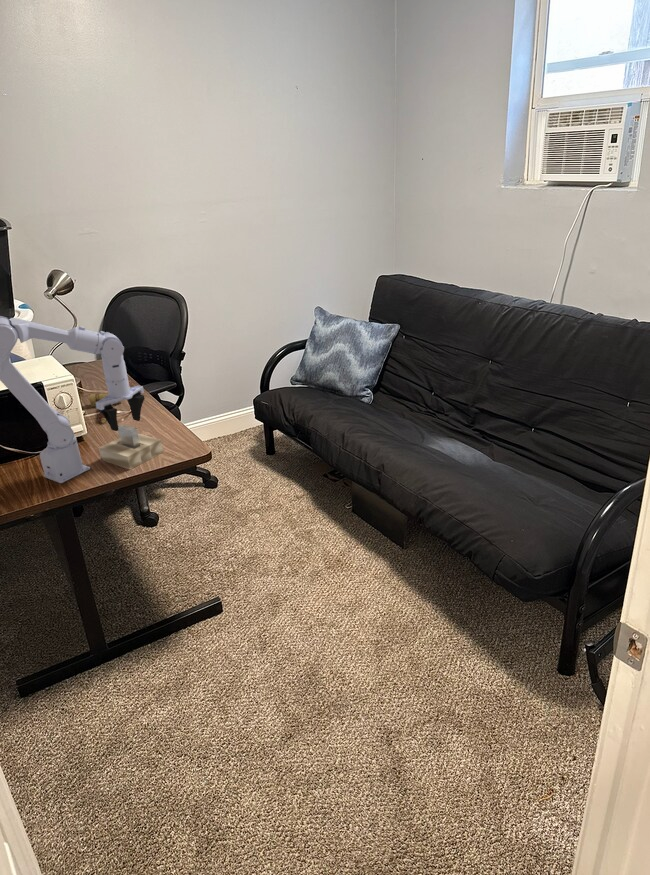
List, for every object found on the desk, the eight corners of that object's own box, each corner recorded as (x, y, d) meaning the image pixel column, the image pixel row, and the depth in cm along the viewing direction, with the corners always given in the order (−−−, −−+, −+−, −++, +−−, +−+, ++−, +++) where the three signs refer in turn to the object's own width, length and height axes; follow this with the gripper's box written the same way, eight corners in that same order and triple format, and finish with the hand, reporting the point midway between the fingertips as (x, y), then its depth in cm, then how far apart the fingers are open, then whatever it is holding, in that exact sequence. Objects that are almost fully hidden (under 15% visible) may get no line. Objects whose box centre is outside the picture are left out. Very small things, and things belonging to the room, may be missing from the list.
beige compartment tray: (130, 469, 166) (127, 456, 164) (101, 460, 172) (98, 447, 170) (163, 452, 175) (160, 439, 173) (135, 443, 181) (132, 431, 179)
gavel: (117, 413, 196) (85, 418, 193) (120, 426, 198) (88, 431, 196) (119, 388, 213) (89, 392, 211) (122, 400, 216) (92, 404, 213)
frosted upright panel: (137, 460, 171) (131, 430, 167) (123, 455, 174) (116, 426, 170) (142, 457, 172) (136, 428, 169) (128, 452, 176) (122, 424, 172)
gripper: (104, 389, 156) (114, 437, 162) (147, 372, 167) (155, 418, 172) (86, 385, 160) (97, 432, 165) (130, 369, 170) (138, 414, 176)
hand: (126, 425), depth 169 cm, fingers open, 7 cm apart
